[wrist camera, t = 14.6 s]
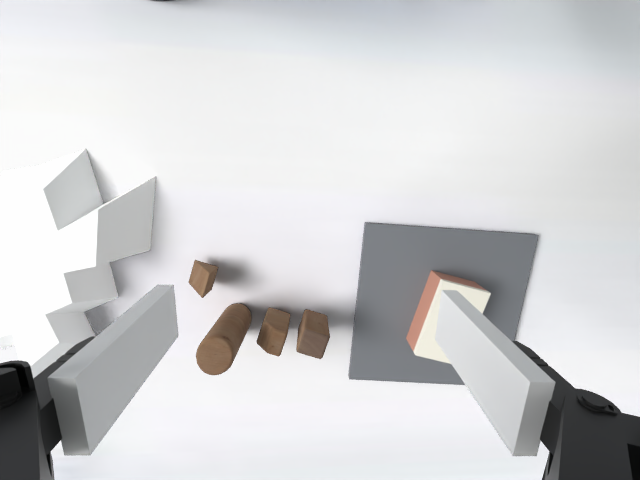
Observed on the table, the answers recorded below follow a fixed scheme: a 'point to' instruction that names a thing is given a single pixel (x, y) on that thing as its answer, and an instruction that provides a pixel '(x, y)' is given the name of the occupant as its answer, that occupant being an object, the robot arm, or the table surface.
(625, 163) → the table surface
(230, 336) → the wooden block set
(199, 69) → the table surface
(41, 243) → the paper sheets
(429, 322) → the card deck
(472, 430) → the table surface
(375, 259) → the rubber mat
